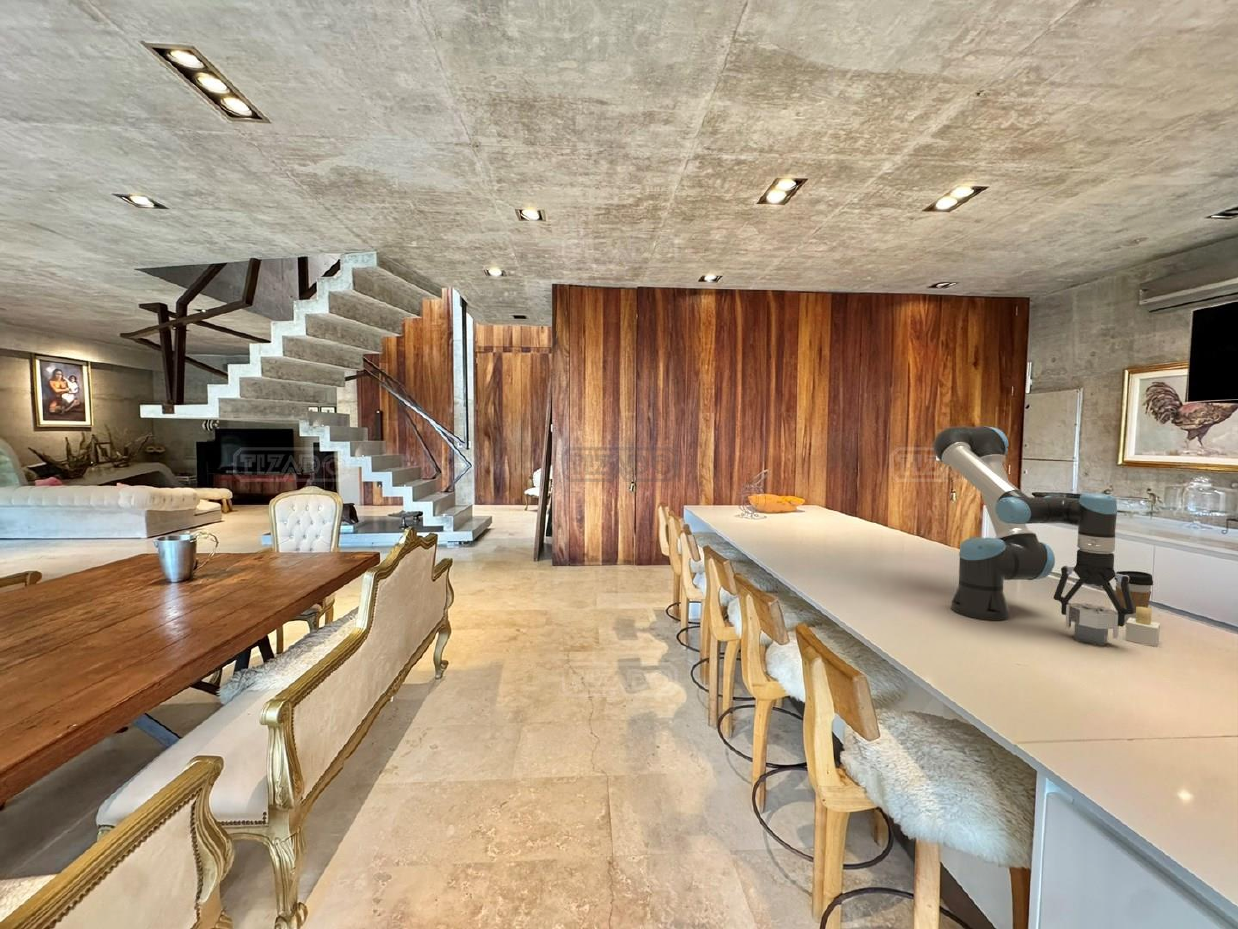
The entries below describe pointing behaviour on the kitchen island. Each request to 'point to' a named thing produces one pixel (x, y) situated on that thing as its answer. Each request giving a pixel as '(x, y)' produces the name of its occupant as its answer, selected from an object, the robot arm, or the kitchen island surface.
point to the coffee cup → (1135, 590)
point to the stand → (1091, 632)
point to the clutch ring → (1091, 616)
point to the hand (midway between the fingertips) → (1091, 631)
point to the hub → (1142, 628)
